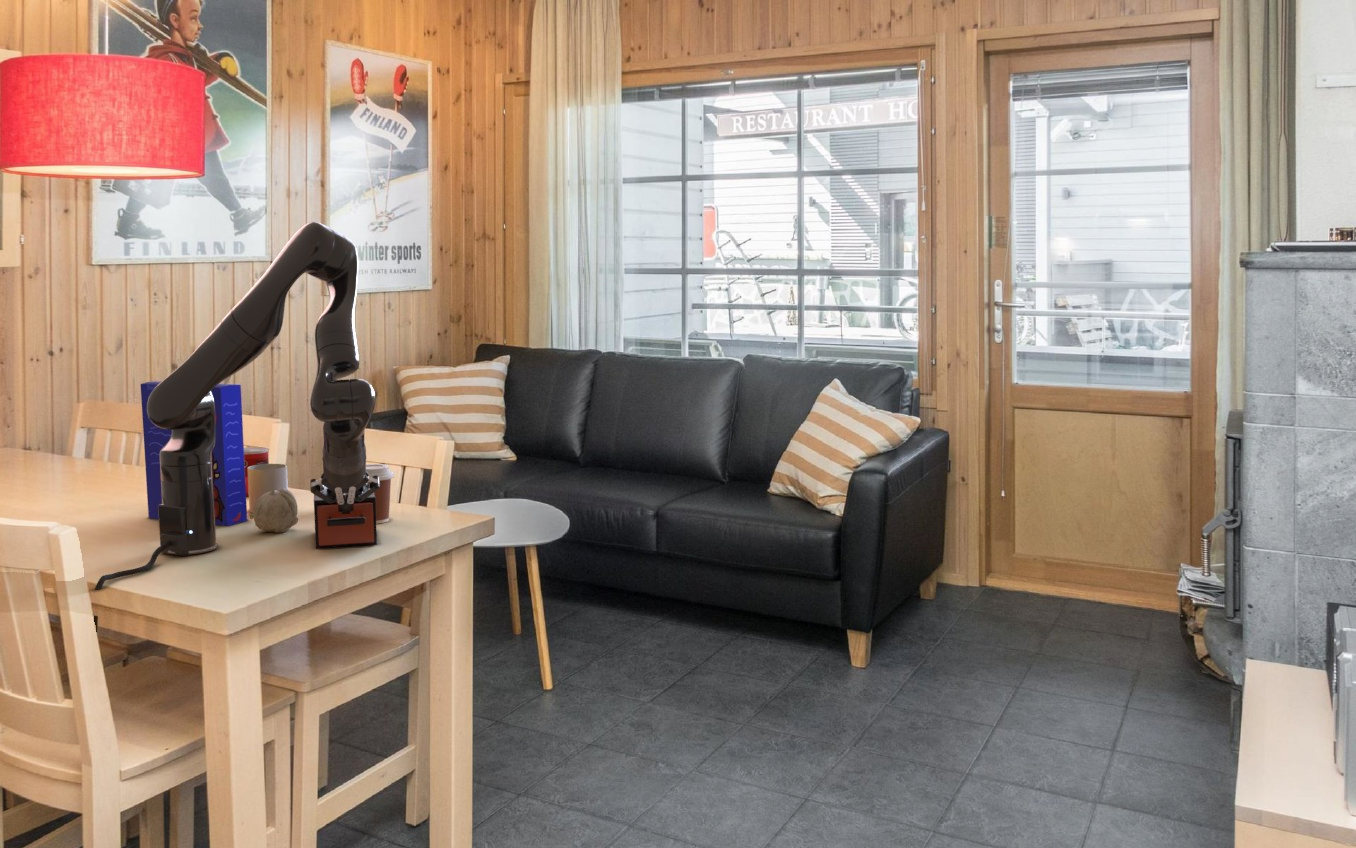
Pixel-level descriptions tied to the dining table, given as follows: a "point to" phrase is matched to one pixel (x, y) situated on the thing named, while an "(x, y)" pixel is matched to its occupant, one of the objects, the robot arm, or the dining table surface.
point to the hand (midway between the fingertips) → (345, 510)
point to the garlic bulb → (275, 511)
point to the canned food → (254, 460)
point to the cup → (265, 480)
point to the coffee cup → (381, 490)
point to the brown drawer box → (345, 524)
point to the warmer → (320, 501)
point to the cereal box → (224, 455)
